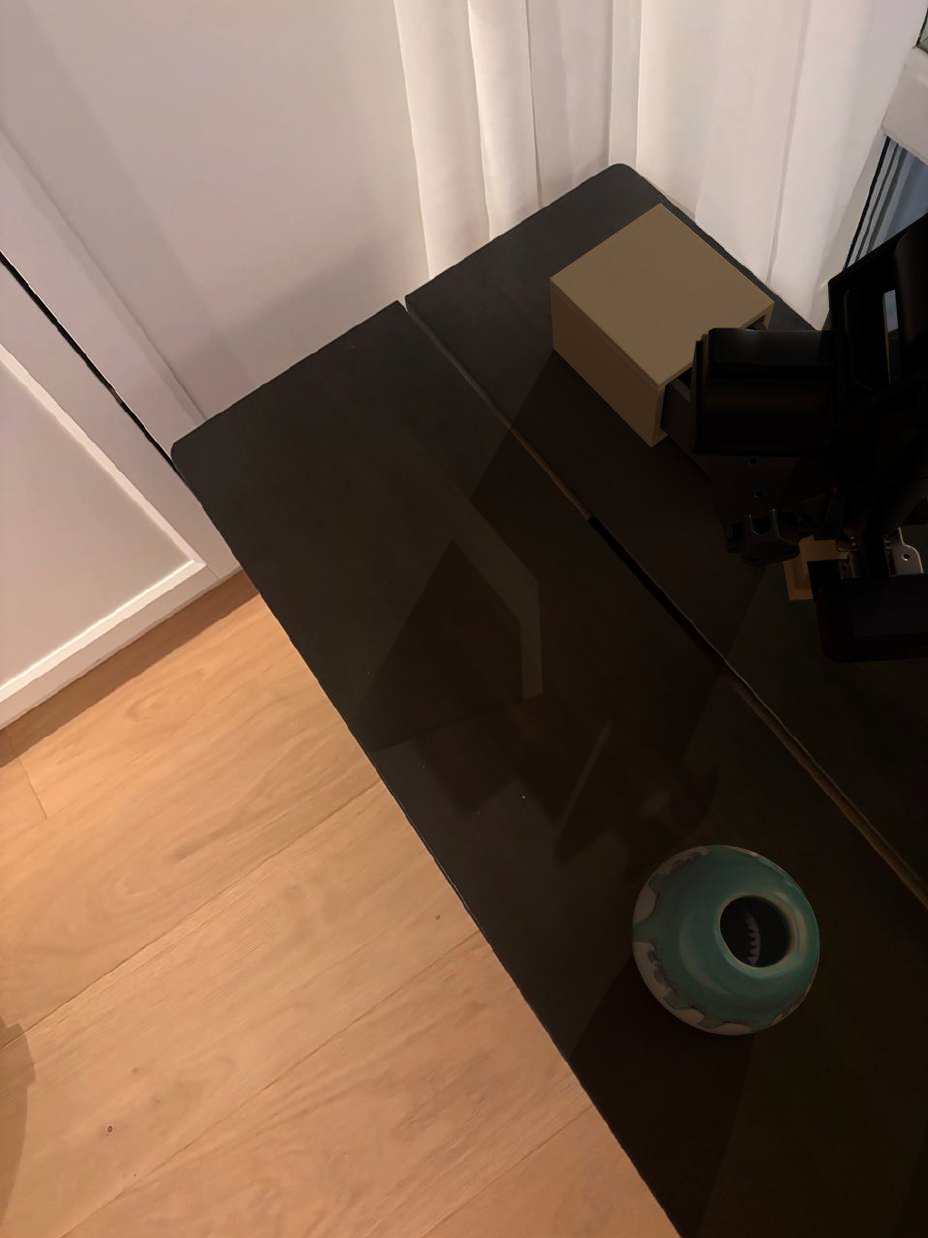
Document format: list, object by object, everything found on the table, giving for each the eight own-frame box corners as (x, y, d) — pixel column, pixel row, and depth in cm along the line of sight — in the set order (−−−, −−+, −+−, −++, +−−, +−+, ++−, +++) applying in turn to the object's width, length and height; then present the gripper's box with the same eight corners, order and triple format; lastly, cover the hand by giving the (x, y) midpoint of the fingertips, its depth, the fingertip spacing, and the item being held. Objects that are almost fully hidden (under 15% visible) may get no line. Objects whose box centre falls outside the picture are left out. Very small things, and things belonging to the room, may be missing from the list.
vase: (755, 831, 66) (811, 786, 49) (828, 997, 61) (917, 1009, 45) (604, 884, 66) (608, 857, 49) (666, 1054, 61) (694, 1087, 45)
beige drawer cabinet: (755, 372, 79) (775, 301, 71) (651, 447, 78) (658, 385, 69) (653, 278, 84) (660, 202, 75) (553, 348, 83) (548, 278, 74)
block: (847, 533, 61) (866, 502, 57) (860, 595, 59) (880, 567, 55) (778, 539, 62) (792, 508, 57) (789, 600, 60) (804, 573, 56)
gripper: (709, 296, 49) (681, 447, 64) (758, 617, 43) (715, 705, 57) (924, 273, 48) (846, 432, 63) (1009, 600, 41) (900, 694, 56)
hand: (822, 559), depth 60 cm, fingers closed on block, 4 cm apart
